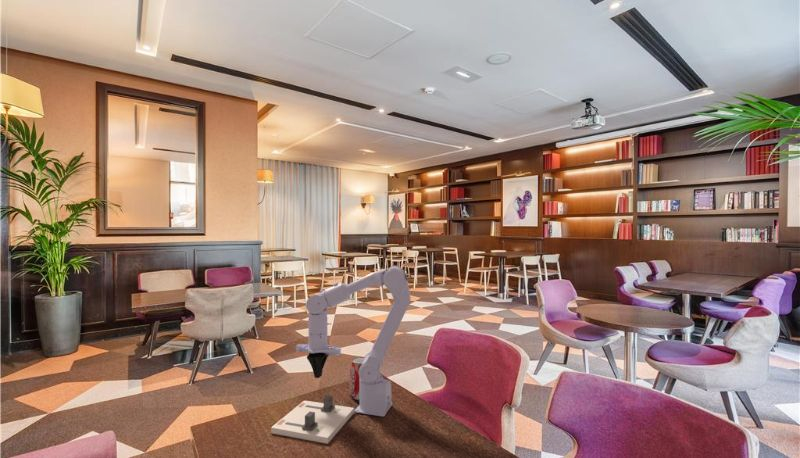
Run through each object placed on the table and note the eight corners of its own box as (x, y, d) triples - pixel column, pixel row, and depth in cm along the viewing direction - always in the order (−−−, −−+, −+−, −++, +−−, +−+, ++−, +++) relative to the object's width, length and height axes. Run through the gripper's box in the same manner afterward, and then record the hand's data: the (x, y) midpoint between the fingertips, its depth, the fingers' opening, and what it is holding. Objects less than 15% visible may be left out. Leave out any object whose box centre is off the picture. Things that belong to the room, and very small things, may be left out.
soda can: (367, 402, 110) (367, 364, 111) (346, 400, 112) (346, 363, 112) (373, 392, 117) (373, 356, 118) (353, 391, 119) (353, 355, 119)
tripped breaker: (317, 424, 95) (317, 412, 95) (311, 430, 92) (311, 417, 92) (308, 423, 96) (308, 410, 96) (301, 428, 93) (301, 416, 93)
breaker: (335, 407, 104) (334, 395, 104) (330, 412, 101) (330, 400, 101) (326, 405, 105) (326, 394, 105) (320, 410, 102) (320, 399, 102)
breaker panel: (354, 412, 104) (353, 407, 104) (327, 443, 89) (327, 437, 89) (304, 405, 109) (304, 400, 109) (271, 433, 94) (271, 427, 94)
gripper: (290, 334, 106) (290, 379, 106) (332, 338, 102) (333, 384, 102) (303, 328, 113) (303, 370, 113) (343, 331, 109) (343, 375, 108)
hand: (318, 376), depth 108 cm, fingers closed
